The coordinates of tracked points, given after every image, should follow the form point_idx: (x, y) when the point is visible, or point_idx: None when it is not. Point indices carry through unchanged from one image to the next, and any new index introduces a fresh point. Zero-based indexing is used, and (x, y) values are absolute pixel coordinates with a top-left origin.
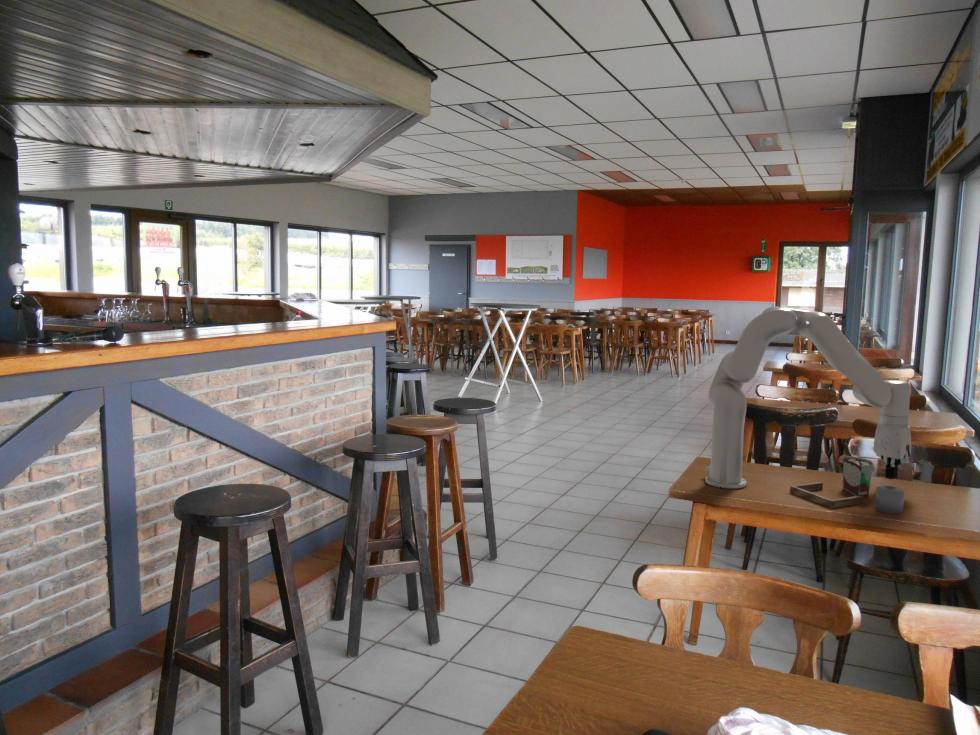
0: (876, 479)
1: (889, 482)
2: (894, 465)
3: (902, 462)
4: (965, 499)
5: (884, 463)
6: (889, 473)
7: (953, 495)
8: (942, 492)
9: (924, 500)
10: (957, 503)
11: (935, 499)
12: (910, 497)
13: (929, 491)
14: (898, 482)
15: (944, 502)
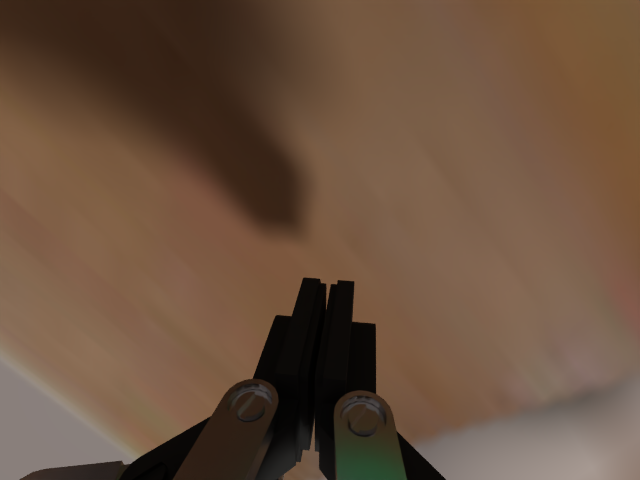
0: (537, 363)
1: (440, 368)
2: (222, 407)
3: (85, 476)
4: (70, 396)
5: (383, 414)
6: (297, 309)
7: (133, 408)
8: (184, 412)
9: (55, 220)
10: (4, 320)
11: (74, 291)
12: (124, 197)
13: (213, 384)
14: (410, 403)
15: (18, 283)
